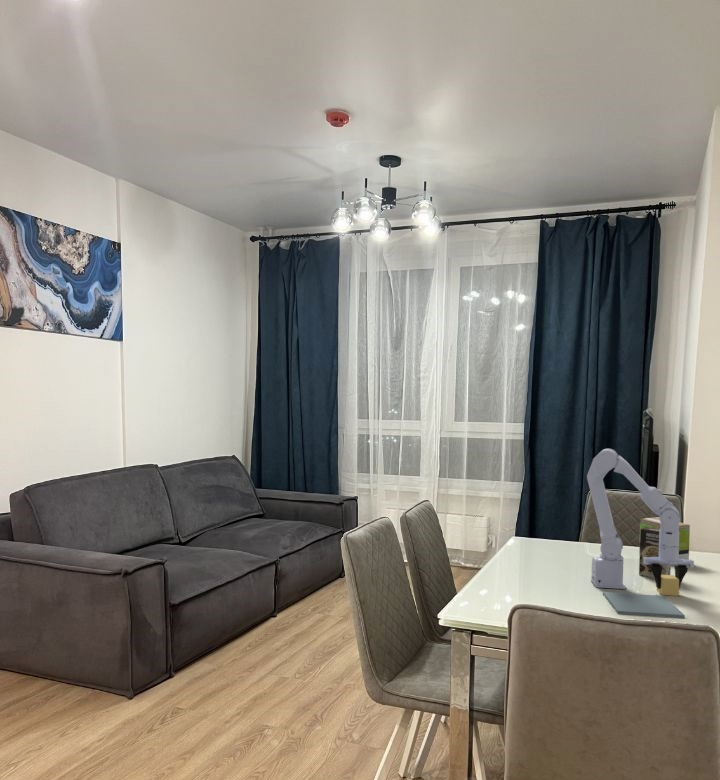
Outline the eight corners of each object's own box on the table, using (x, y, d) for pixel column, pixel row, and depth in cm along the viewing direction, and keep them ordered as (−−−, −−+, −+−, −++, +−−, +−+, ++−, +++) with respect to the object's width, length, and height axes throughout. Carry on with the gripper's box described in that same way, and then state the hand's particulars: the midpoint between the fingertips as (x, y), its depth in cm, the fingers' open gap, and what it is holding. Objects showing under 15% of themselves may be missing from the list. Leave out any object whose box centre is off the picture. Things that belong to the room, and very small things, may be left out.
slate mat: (617, 613, 188) (617, 610, 188) (602, 594, 206) (602, 591, 206) (684, 618, 186) (684, 615, 186) (663, 598, 204) (663, 595, 204)
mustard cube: (661, 594, 207) (662, 578, 207) (656, 590, 212) (657, 574, 212) (678, 595, 206) (679, 579, 206) (673, 591, 211) (673, 575, 211)
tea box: (638, 556, 258) (638, 517, 258) (656, 553, 262) (657, 516, 262) (670, 565, 244) (671, 525, 244) (689, 563, 248) (690, 523, 248)
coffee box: (638, 575, 229) (639, 528, 229) (643, 571, 234) (644, 525, 234) (666, 580, 224) (667, 532, 224) (671, 576, 229) (672, 529, 229)
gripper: (648, 546, 206) (647, 590, 206) (698, 549, 204) (696, 593, 204) (641, 541, 213) (640, 584, 213) (689, 544, 211) (688, 587, 211)
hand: (667, 588), depth 209 cm, fingers closed on mustard cube, 5 cm apart
